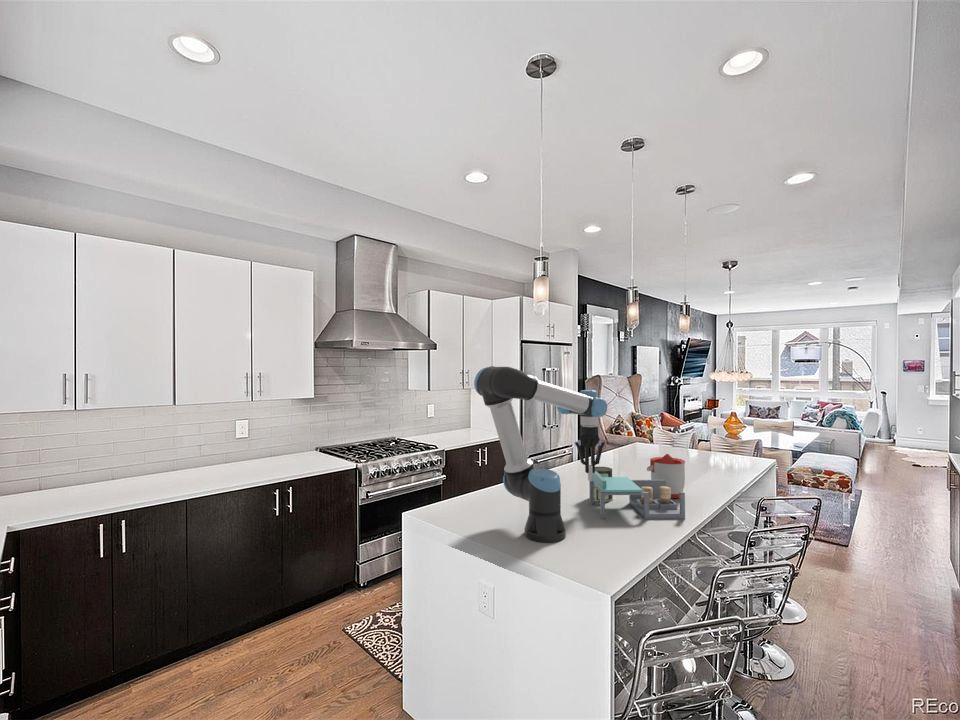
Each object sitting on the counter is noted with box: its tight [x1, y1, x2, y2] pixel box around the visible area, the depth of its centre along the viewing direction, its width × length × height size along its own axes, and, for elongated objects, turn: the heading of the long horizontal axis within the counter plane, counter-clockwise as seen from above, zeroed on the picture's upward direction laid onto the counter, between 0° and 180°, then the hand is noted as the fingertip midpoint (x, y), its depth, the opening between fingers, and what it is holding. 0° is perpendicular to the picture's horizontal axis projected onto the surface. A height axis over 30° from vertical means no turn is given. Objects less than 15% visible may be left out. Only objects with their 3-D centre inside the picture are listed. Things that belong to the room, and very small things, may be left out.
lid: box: [593, 471, 643, 492], centre depth 202 cm, size 22×16×4 cm
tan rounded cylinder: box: [641, 487, 653, 504], centre depth 201 cm, size 4×4×8 cm
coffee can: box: [593, 466, 614, 503], centre depth 220 cm, size 10×10×14 cm
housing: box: [588, 479, 686, 520], centre depth 202 cm, size 22×34×10 cm, turn 89°
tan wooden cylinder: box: [659, 486, 672, 504], centre depth 201 cm, size 4×4×8 cm
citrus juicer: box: [646, 453, 686, 499], centre depth 225 cm, size 16×17×20 cm
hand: (590, 480), depth 203 cm, fingers closed
